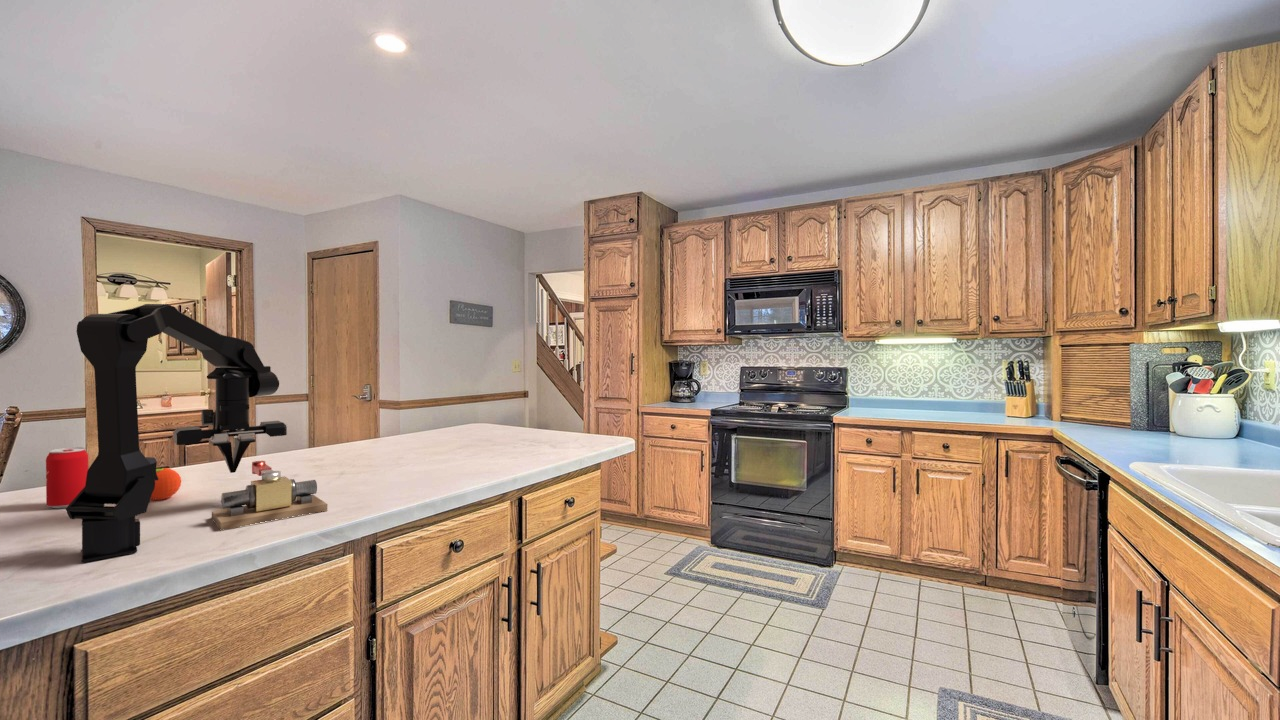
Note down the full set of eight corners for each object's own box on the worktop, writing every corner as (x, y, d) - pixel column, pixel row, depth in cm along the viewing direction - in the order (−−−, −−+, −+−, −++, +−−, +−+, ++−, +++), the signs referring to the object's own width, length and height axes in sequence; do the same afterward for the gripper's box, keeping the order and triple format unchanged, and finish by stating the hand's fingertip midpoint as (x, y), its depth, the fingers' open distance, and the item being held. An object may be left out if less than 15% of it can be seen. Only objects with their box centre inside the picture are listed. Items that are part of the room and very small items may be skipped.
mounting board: (220, 530, 101) (221, 522, 101) (211, 518, 108) (211, 511, 108) (327, 511, 114) (327, 504, 114) (313, 501, 121) (313, 494, 121)
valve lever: (282, 481, 111) (282, 470, 111) (263, 484, 109) (263, 472, 109) (266, 470, 121) (266, 460, 121) (248, 472, 118) (248, 462, 118)
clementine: (158, 505, 116) (158, 472, 116) (126, 504, 116) (126, 472, 116) (189, 495, 124) (189, 464, 124) (159, 494, 124) (159, 464, 124)
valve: (225, 518, 104) (225, 490, 103) (220, 512, 107) (220, 485, 107) (318, 502, 115) (318, 476, 115) (311, 497, 119) (311, 472, 119)
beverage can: (83, 499, 119) (83, 445, 119) (93, 504, 116) (92, 448, 116) (42, 506, 114) (41, 450, 114) (50, 511, 111) (50, 453, 111)
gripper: (274, 394, 127) (274, 460, 128) (170, 399, 114) (170, 472, 114) (287, 398, 120) (287, 468, 120) (177, 403, 106) (177, 482, 106)
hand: (232, 472), depth 115 cm, fingers closed
